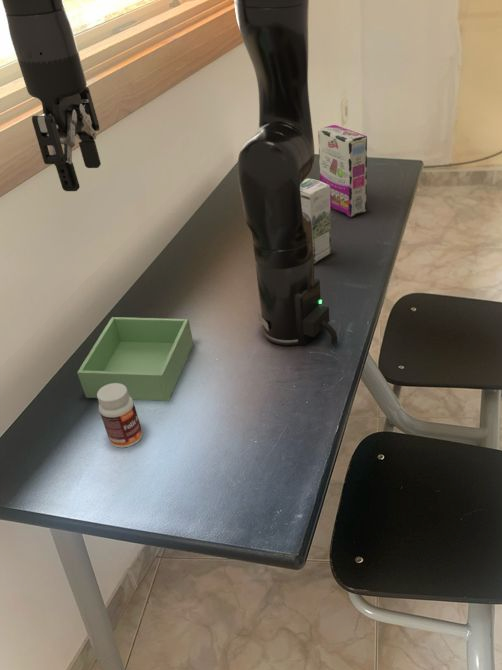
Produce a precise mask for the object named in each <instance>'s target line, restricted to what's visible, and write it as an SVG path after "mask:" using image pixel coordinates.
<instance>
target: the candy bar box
mask: <svg viewBox="0 0 502 670" xmlns="http://www.w3.org/2000/svg"><path fill="white" fill-rule="evenodd" d="M317 133H318V134H317V136H318V137H317V138H318V160H319V181H321V182H323V183H326V184H328V185H330V209H333V210H334V211H336V212H339V213H341V214H343V215H345V216H347V217H349V218H352V217H355V216H358V215H359V216H360V215H361V214H364V213H366V212H367V196H368V195H367V194H368V193H367V189H368V187H367V186H368V183H367V182H368V181H367V180H368V177H367V176H368V175H367V173H368V135H365V134H362V133H359V132H357V131H354V130H351V129H347V128H345V127H342V126H339V125H338V124H331V125H328V126H324V127H322V128H319V129H317Z"/></svg>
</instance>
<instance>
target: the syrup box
mask: <svg viewBox="0 0 502 670" xmlns="http://www.w3.org/2000/svg"><path fill="white" fill-rule="evenodd" d="M300 194H301V205H302V211H303V212H305V213H306V214H307V215H308V216H309V217H310V219H311V224H312V242H313V261H314V265H315V264H318V263H319V262H320V261H321V260H323V259H325V258H326V257H328V256H329V255H332V229H331V228H332V226H331V225H332V222H331V219H332V217H331V208H330V185H328V184H326V183H323V182H321V181H320V180H317V179H314V178H308V177H307V178H306V179H305V180H304V181H303V183H302V184H301V185H300Z"/></svg>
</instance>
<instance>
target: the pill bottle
mask: <svg viewBox="0 0 502 670" xmlns="http://www.w3.org/2000/svg"><path fill="white" fill-rule="evenodd" d="M96 399H97V400H98V412H99V414H100V415H99V416H100V417H101V420H102V424H103V426H104V429H105V431H106V435H107V438H108V440H109V442H110V444H111V445H112V446H113V447H117V448H120V449H121V448H122V449H123V448H128V447H132V446H134V445H136V444H137V443H139V441H140V440H141V439H142V438H143V433H144V432H143V429H142V425H141V423H140V418H139V415H138V412H137V409H136V405H135V400H134V399H132V398H131V397H130V396H129V394H128V391H127V388H126V387H125V386H124V385H123V384H119V383H112V384H108V385H105V386H104V387H102V388H101V389H100V390H99V391H98V393H97V398H96Z"/></svg>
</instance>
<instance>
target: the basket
mask: <svg viewBox="0 0 502 670" xmlns="http://www.w3.org/2000/svg"><path fill="white" fill-rule="evenodd" d="M193 346H194V339H193V335H192V329H191V325H190V320H189V319H188V318H162V317H160V318H158V317H119V316H118V317H117V316H116V317H115V316H111V318H110V319H109V321H108V322H107V323H106V325H105V327H104V329H103V331H102V332H101V333H100V335H99V337H98V338H97V340H96V342H95V343H94V345H93V346H92V348H91V349H90V351H89V353H88V354H87V356H86V358H85V359H84V361H83V363H82V364H81V365H80V367H79V369H78V371H77V372H76V373H77V376H78V379H79V382H80V385H81V387H82V390H83V392H84V395H85V398H87V399H98V398H97V393H98V391H99V390H100V389H101V388H102V387H104V386H105V385H108V384H112V383H119V384H123V385H124V386H125V387H126V388H127V391H128V394H129V396H130V397H131V398H132V399H133V401H135V400H138V401H158V402H159V401H164V402H169V401H170V399H171V396H172V394H173V392H174V390H175V387H176V385H177V382H178V380H179V378H180V376H181V374H182V371H183V369H184V367H185V364H186V362H187V360H188V358H189V356H190V353H191V350H192V349H193Z"/></svg>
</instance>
